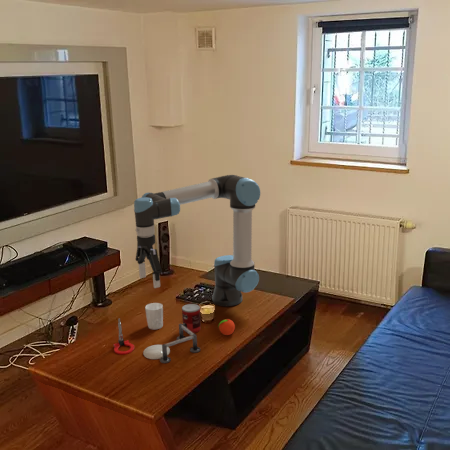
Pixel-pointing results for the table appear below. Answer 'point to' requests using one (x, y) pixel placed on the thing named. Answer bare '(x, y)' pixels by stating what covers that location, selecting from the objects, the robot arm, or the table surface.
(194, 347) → the grey angled bar frame
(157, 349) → the coaster
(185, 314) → the canned food
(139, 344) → the table surface
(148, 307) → the white cup
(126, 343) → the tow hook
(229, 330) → the clementine
